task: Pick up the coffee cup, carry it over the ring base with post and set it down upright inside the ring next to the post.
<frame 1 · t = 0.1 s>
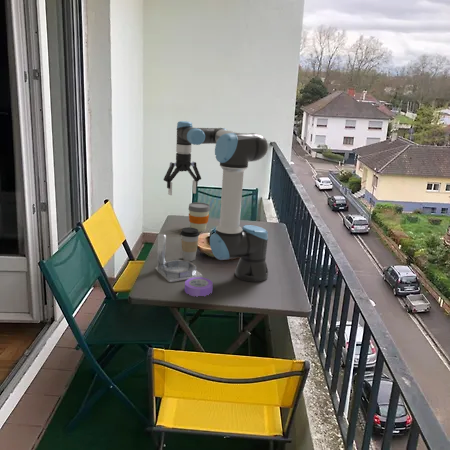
hand: (182, 193, 237), 28 cm above the table, tool pointing down, fingers open, 13 cm apart
coffee cup: (188, 259, 226), on the table
ring base with post: (178, 272, 209), on the table
reusable coffee cup: (198, 229, 273), on the table
masking tape: (198, 291, 193), on the table
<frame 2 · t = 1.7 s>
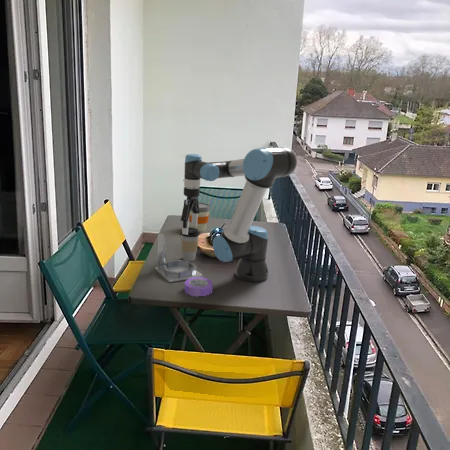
hand: (189, 230, 222), 15 cm above the table, tool pointing down, fingers open, 13 cm apart
nothing on the table moved.
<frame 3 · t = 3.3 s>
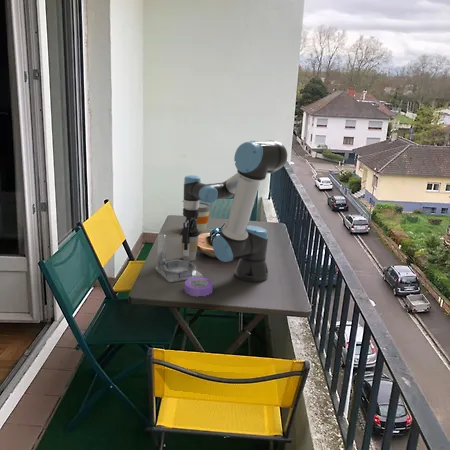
hand: (189, 252, 225), 3 cm above the table, tool pointing down, fingers closed on coffee cup, 8 cm apart
coffee cup: (188, 259, 226), on the table, touching gripper
everything else where it was.
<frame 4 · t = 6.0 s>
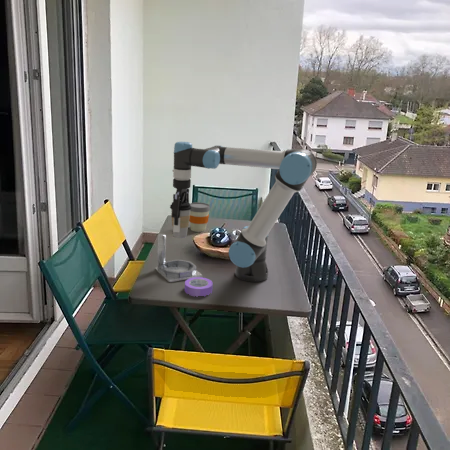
hand: (180, 228, 203), 21 cm above the table, tool pointing down, fingers closed on coffee cup, 8 cm apart
coffee cup: (179, 236, 204), point 18 cm above the table, touching gripper
everything else where it was.
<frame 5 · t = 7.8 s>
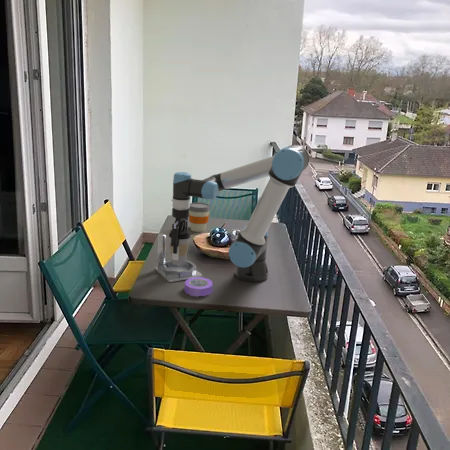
hand: (178, 256, 207), 8 cm above the table, tool pointing down, fingers closed on coffee cup, 8 cm apart
coffee cup: (178, 263, 208), point 5 cm above the table, touching gripper
everything else where it was.
when the fingers open (5 cm above the table, at t = 8.9 s): coffee cup moves 3 cm, resting on ring base with post.
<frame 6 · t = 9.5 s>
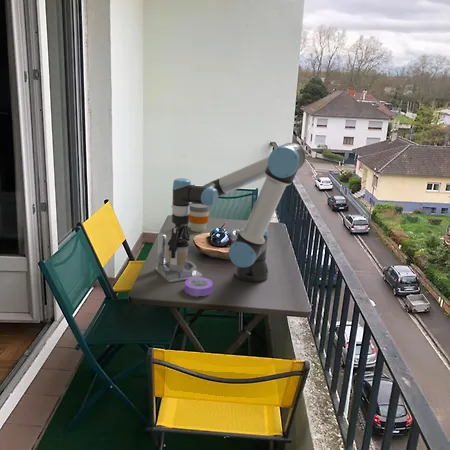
hand: (179, 259, 207), 7 cm above the table, tool pointing down, fingers open, 13 cm apart
coffee cup: (176, 272, 206), point 1 cm above the table, touching gripper, ring base with post
everything else where it was.
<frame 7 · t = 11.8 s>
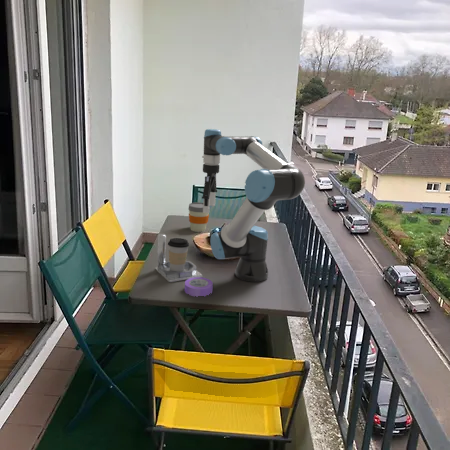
hand: (209, 209, 215), 27 cm above the table, tool pointing down, fingers open, 13 cm apart
coffee cup: (176, 272, 206), point 1 cm above the table, touching ring base with post
everything else where it was.
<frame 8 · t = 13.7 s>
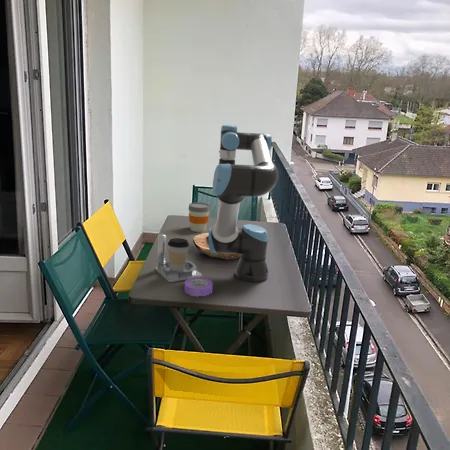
hand: (224, 202, 223), 29 cm above the table, tool pointing down, fingers open, 13 cm apart
nothing on the table moved.
at the end: coffee cup 2.7 cm off-centre on the ring base with post, point 1.0 cm above the ring base with post's base; coffee cup tilted 5°; the gripper is holding nothing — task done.
